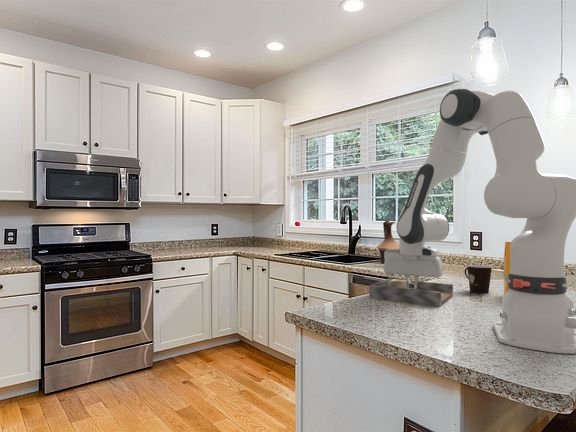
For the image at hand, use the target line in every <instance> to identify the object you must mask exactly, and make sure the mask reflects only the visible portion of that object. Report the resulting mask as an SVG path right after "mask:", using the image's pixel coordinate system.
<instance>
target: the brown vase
mask: <svg viewBox="0 0 576 432" xmlns="http://www.w3.org/2000/svg"><path fill="white" fill-rule="evenodd" d="M394 224H396V221H390V219H389V220H384V222H383V223H382V225H383V235H384V239H383V241H382V242H381V243H380V244H378V245H377V246H376V247H375V248H376V249H378V251H379V256H380V263H381V264H383V265H384V262H385V258H384V252H385V251H386V250H388V249H399V243H397V242H396V241H395V239H394V237H393V235H392V226H393V225H394ZM386 252H389V251H386Z"/></svg>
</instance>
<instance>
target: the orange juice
mask: <svg viewBox="0 0 576 432" xmlns="http://www.w3.org/2000/svg"><path fill="white" fill-rule="evenodd" d="M511 242H512V241H505V242H504V254H503V269H504V270H503V279H504V280H503V282H504V283H503V285H504V286H503V287H504V288H503V291H504V293H506V292H507V291H508V290H509V288H508V274H509V273H510V244H511ZM504 293H503V294H504Z"/></svg>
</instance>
